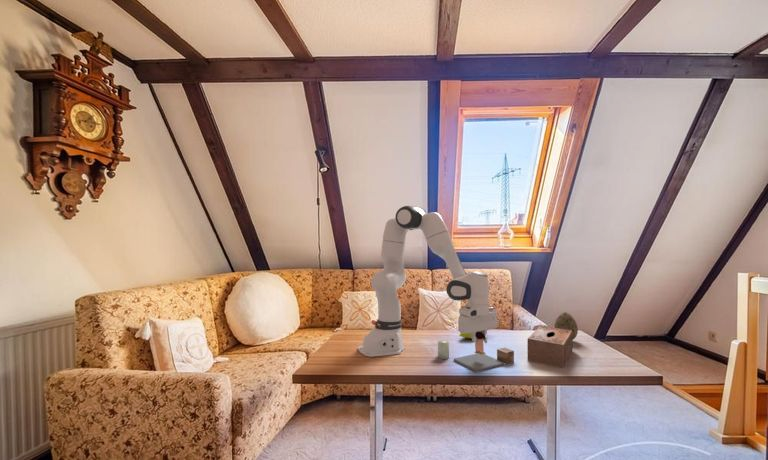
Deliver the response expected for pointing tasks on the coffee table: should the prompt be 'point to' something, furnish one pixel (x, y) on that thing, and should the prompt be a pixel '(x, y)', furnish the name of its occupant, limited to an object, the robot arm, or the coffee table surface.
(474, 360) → the slate mat
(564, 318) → the decorative egg
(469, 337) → the plumb bob
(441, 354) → the sage green capsule
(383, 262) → the robot arm
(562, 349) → the tissue box cover
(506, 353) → the walnut block
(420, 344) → the coffee table surface
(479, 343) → the grandmother figurine
